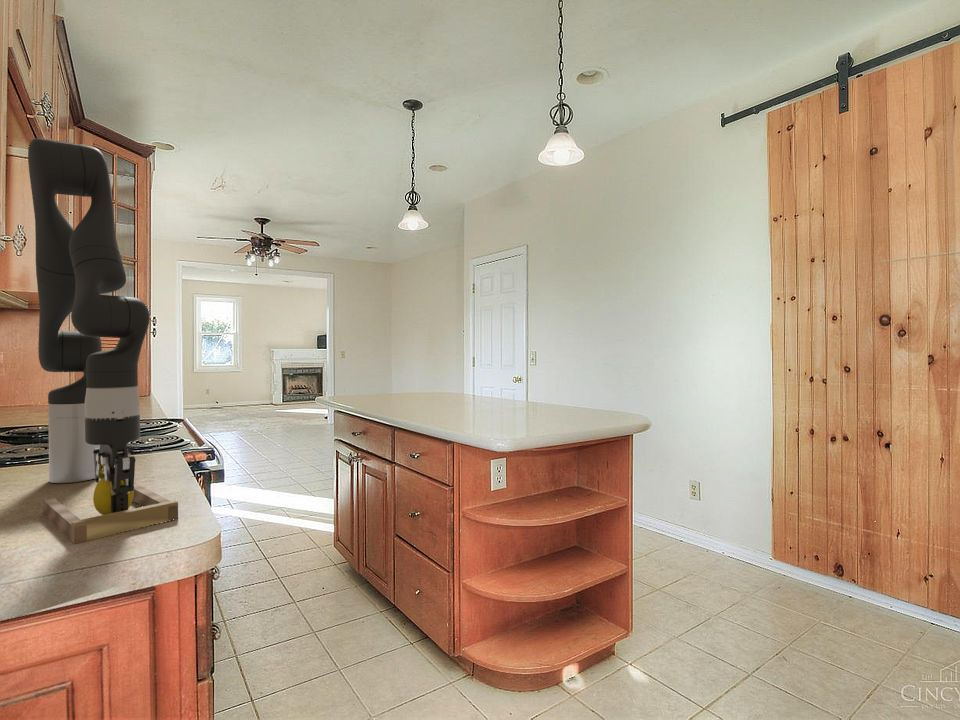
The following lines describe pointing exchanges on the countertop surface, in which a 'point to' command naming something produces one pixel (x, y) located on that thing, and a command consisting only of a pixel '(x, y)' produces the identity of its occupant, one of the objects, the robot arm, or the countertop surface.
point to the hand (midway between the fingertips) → (114, 512)
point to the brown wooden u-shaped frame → (112, 516)
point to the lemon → (106, 497)
